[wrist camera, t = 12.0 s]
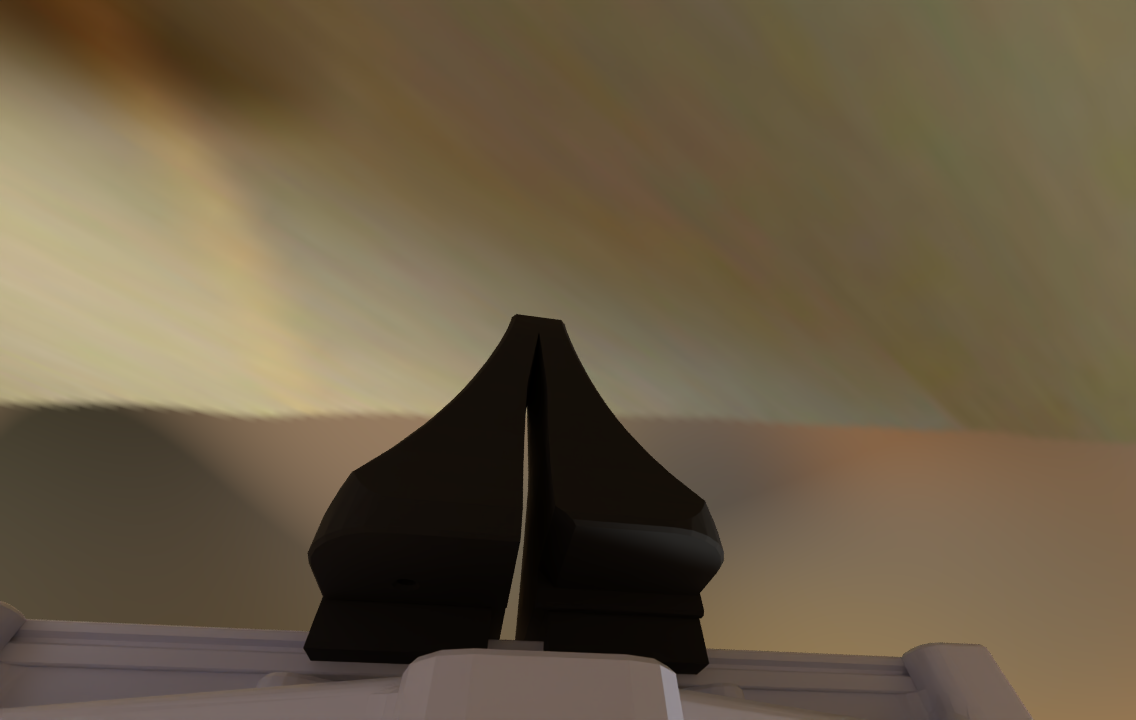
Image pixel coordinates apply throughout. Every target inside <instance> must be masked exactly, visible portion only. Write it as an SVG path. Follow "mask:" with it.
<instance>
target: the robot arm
mask: <svg viewBox="0 0 1136 720" xmlns="http://www.w3.org/2000/svg"><path fill="white" fill-rule="evenodd" d="M526 408H527V427H528V471H529V473H528V475H529V476H528V498H527V511H526V523H525V536H524V547H523V559H522V570H521V582H520V593H519V604H518V615H517V626H516V636H515V640H499V639H500V634H501V629H502V624H503V618H504V614H505V608H507V603H508V598H509V594H510V589H511V584H512V579H513V574H514V569H515V564H516V559H517V555H518V550H519V544H520V538H521V526H522V510H523V460H524V434H525V433H524V432H525V414H526ZM308 559H309V564H310V567H311V569H312V572H313V574H314V576H315V579H316V581H317V584H318V586H319V588H320V590H321V593H322V595H323V598H322V601H321V603H320V606H319V608H318V611H317V613H316V616H315V618H314V621H313V624H312V626H311V629H310V631H289V630H265V629H241V628H218V627H196V626H172V625H150V624H127V623H103V622H79V621H58V620H35V619H25V617H24V615H23V614H22V613H21V612H20V611H18V610H17V609H16V608H14V607H13V606H11V605H9V604H7V603H5V602H2V601H0V720H1033V718H1032V716H1031V715H1030V713H1029V712H1028V710H1027V709H1026V707H1025V706H1024V704H1023V703H1022V701H1021V700H1020V698H1019V697H1018V695H1017V694H1016V692H1015V691H1014V689H1013V687H1012V686H1011V684H1010V683H1009V681H1008V680H1007V678H1006V677H1005V675H1004V674H1003V672H1002V671H1001V669H1000V668H999V666H998V665H997V663H996V662H995V660H994V658H993V657H992V655H991V654H990V652H989V651H988V650H987V648H986V647H984V646H982V645H979V644H978V645H977V644H959V643H928V644H924V645H920V646H917V647H915V648H913V649H911V650H909V651H908V652H906V653H904V654H903V656H902V657H887V656H863V655H841V654H818V653H794V652H772V651H771V652H770V651H749V650H725V649H706V647H705V642H704V638H703V633H702V629H701V625H700V620H699V618H702V617H703V616H704V609H703V604H702V600H701V596H700V592H701V591H702V590H703V589H704V588H705V586H706V585H707V584H708V583H709V581H710V580H711V579H712V578H713V577H714V575H715V574H716V573H717V571H718V570H719V569H720V567H721V565H722V563H723V561H724V551H723V548H722V545H721V541H720V538H719V534H718V531H717V529H716V526H715V523H714V521H713V519H712V516H711V514H710V512H709V509H708V507H707V505H706V502H705V501H704V500H703V499H702V498H700V497H699V496H698V495H697V494H696V493H694V492H693V491H691V490H690V489H689V488H688V487H687V486H685V485H684V484H683V483H682V482H680V481H679V480H678V479H676V478H675V477H674V476H673V475H672V474H670V473H669V472H668V471H667V470H666V469H665V468H664V467H663V466H662V465H660V464H659V463H658V462H657V461H656V460H655V459H654V458H653V457H652V456H650V454H648V452H646V450H645V449H643V447H642V446H641V445H640V444H639V443H638V442H637V441H636V440H635V439H634V438H633V437H632V436H631V435H630V434H629V433H628V431H627V430H626V429H625V428H624V427H623V425H622V424H621V423H620V422H619V421H618V419H617V418H616V417H615V415H614V414H613V413H612V411H611V410H610V409H609V408H608V406H607V405H606V403H605V402H604V400H603V399H602V397H601V396H600V394H599V393H598V391H597V390H596V388H595V387H594V385H593V383H592V382H591V380H590V378H589V377H588V375H587V373H586V371H585V369H584V367H583V366H582V364H581V362H580V360H579V358H578V356H577V354H576V352H575V350H574V347H573V345H572V343H571V341H570V338H569V336H568V333H567V330H566V328H565V324H564V323H563V322H562V320H556V319H549V318H541V317H534V316H526V315H519V314H516V315H515V316H513V317H512V319H511V322H510V324H509V327H508V329H507V331H506V333H505V334H504V336H503V338H502V339H501V341H500V343H499V344H498V346H497V347H496V349H495V350H494V352H493V353H492V355H491V356H490V358H489V359H488V360H487V362H486V363H485V364H484V365H483V367H482V368H481V369H480V370H479V372H478V373H477V374H476V375H475V376H474V378H473V379H472V380H471V381H470V382H469V383H468V384H467V386H466V387H465V388H464V389H463V390H462V391H461V392H460V393H459V394H458V395H457V396H456V397H455V398H454V399H453V400H452V401H451V402H450V403H448V404H447V405H446V406H445V407H444V408H443V409H442V410H441V411H440V412H438V413H437V414H436V415H435V416H434V417H433V418H431V419H430V420H429V421H428V422H427V423H426V424H424V425H423V426H421V427H420V428H419V429H417V430H416V431H415V432H413V433H412V434H410V435H409V436H408V437H406V438H405V439H404V440H402V441H401V442H400V443H398V444H397V445H395V446H394V447H392V448H391V449H389V450H388V451H386V452H384V453H383V454H381V455H380V456H378V457H376V458H375V459H373V460H371V461H370V462H368V463H366V464H365V465H363V466H361V467H360V468H358V469H356V470H355V471H353V472H352V473H351V474H350V475H349V477H348V478H347V480H346V481H345V483H344V484H343V485H342V487H341V488H340V490H339V491H338V493H337V495H336V496H335V498H334V500H333V501H332V503H331V504H330V506H329V508H328V509H327V511H326V513H325V515H324V517H323V519H322V521H321V524H320V526H319V528H318V531H317V533H316V535H315V537H314V540H313V542H312V544H311V546H310V549H309V551H308Z"/></svg>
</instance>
